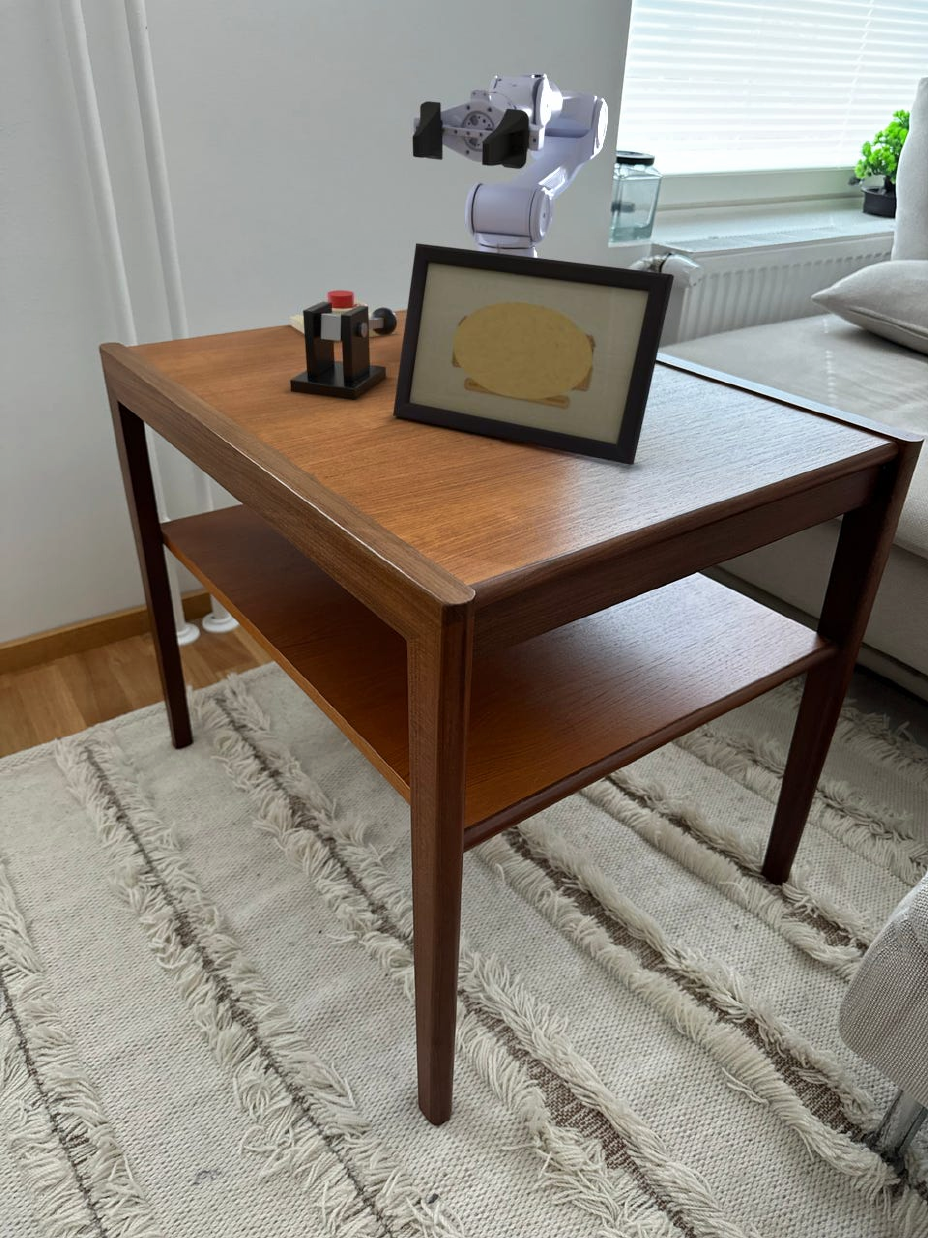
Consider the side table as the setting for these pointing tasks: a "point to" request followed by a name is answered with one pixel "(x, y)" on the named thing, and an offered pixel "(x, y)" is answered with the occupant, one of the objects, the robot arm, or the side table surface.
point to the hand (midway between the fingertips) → (450, 150)
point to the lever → (379, 321)
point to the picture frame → (531, 349)
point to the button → (341, 299)
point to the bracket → (321, 367)
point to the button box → (298, 320)
